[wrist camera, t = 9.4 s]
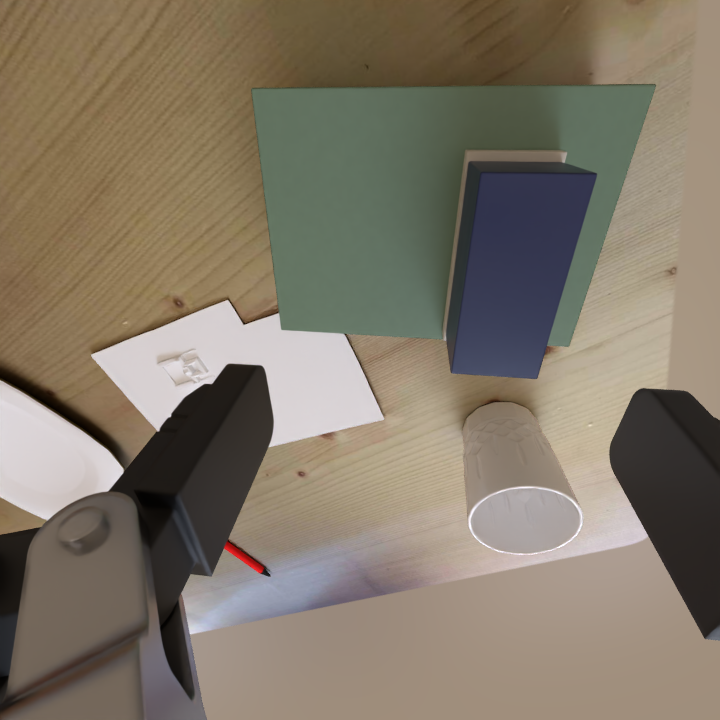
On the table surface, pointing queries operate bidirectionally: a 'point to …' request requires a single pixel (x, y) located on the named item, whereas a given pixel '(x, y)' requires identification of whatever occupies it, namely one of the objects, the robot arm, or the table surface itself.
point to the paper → (253, 347)
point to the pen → (246, 559)
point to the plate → (48, 456)
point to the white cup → (515, 483)
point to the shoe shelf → (417, 191)
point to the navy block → (511, 258)
